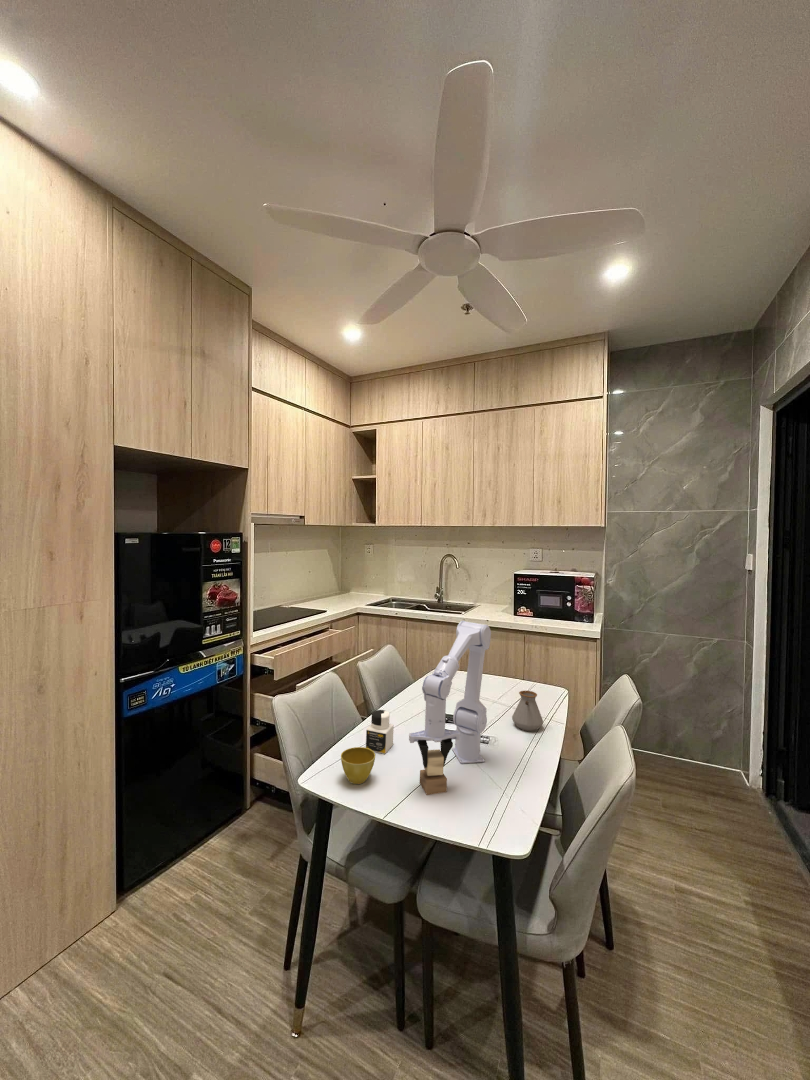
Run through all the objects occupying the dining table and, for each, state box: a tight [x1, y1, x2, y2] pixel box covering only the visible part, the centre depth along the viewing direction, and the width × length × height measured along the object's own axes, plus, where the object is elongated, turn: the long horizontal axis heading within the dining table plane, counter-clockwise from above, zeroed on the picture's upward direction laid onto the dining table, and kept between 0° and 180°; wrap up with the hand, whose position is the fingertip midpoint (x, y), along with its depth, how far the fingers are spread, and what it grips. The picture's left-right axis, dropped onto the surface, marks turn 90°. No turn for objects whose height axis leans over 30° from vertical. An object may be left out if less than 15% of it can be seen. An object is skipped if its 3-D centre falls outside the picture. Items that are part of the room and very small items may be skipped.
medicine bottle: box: [365, 709, 394, 755], centre depth 148 cm, size 7×7×12 cm
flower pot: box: [340, 746, 376, 785], centre depth 128 cm, size 10×10×7 cm
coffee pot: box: [511, 690, 544, 732], centre depth 163 cm, size 21×12×15 cm, turn 161°
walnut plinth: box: [419, 769, 448, 796], centre depth 126 cm, size 6×6×4 cm
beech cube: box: [423, 748, 445, 776], centre depth 126 cm, size 4×4×5 cm
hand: (433, 765), depth 126 cm, fingers closed on beech cube, 4 cm apart
